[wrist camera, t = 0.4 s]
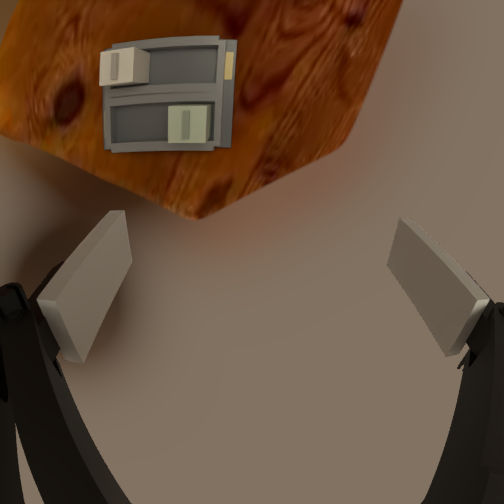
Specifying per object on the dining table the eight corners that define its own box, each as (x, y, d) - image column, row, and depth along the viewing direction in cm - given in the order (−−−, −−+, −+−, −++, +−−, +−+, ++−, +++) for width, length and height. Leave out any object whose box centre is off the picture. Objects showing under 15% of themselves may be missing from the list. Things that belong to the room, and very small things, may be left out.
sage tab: (179, 104, 32) (166, 106, 27) (212, 104, 33) (205, 106, 27) (178, 135, 34) (166, 144, 29) (210, 135, 35) (204, 144, 29)
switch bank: (107, 49, 29) (98, 47, 26) (237, 40, 30) (237, 36, 27) (107, 149, 36) (98, 153, 33) (230, 147, 37) (230, 151, 34)
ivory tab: (120, 57, 29) (97, 51, 23) (150, 53, 29) (131, 45, 23) (119, 86, 31) (96, 86, 25) (148, 83, 31) (130, 81, 25)
